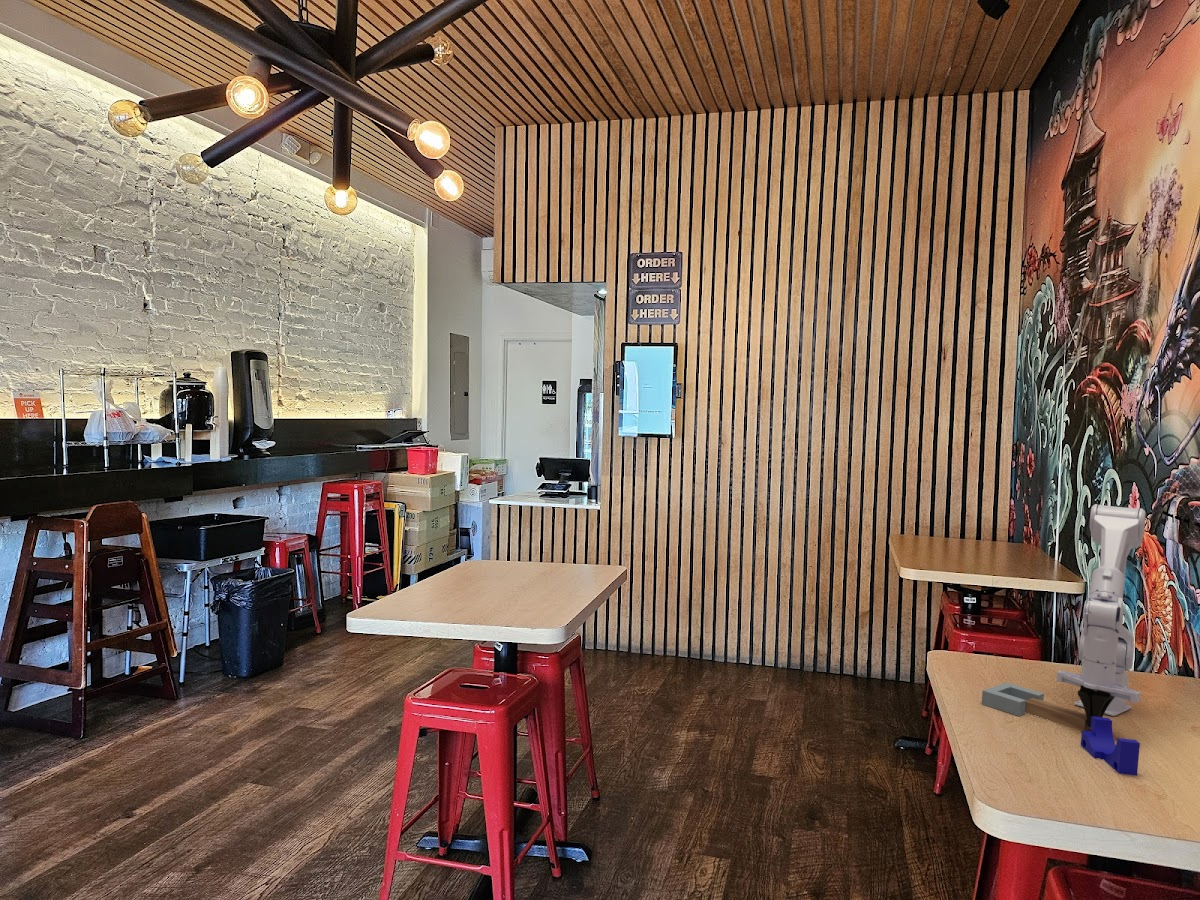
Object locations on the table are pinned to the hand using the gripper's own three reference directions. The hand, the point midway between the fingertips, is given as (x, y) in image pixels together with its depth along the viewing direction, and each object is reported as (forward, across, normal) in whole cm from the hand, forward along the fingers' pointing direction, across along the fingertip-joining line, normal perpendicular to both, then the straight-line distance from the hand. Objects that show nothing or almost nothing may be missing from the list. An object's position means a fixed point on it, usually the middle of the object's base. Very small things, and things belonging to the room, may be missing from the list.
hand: (1093, 726), depth 162 cm
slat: (+1, -7, 0) cm, 7 cm away
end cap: (+1, -16, 0) cm, 16 cm away
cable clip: (+1, +7, -13) cm, 15 cm away
